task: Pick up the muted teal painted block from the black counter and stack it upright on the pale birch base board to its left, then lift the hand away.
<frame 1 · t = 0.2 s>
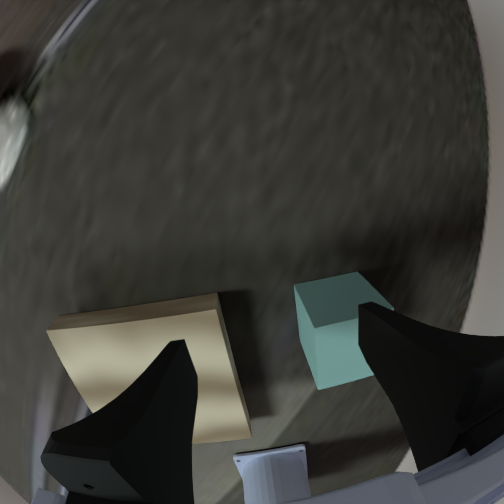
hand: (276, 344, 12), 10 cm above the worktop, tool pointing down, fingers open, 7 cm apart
birch base board: (156, 376, 24), on the worktop
teal block: (328, 307, 23), on the worktop
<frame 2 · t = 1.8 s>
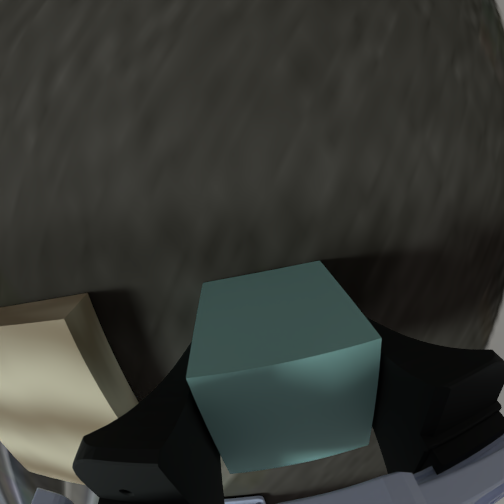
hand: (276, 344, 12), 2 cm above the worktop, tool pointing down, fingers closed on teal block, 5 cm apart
birch base board: (49, 401, 14), on the worktop
teal block: (270, 322, 13), on the worktop, touching gripper
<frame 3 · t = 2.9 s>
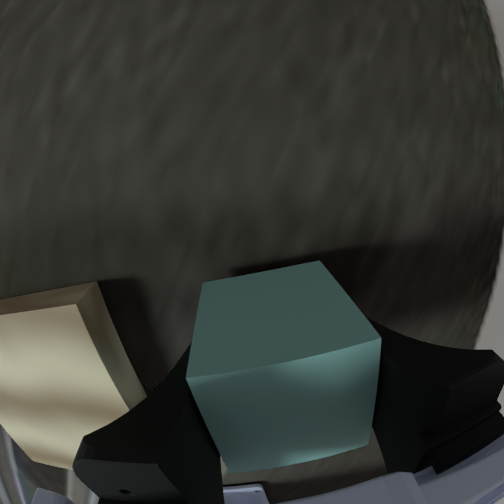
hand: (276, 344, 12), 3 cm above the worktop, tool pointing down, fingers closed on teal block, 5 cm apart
birch base board: (55, 388, 16), on the worktop
teal block: (270, 322, 13), point 1 cm above the worktop, touching gripper
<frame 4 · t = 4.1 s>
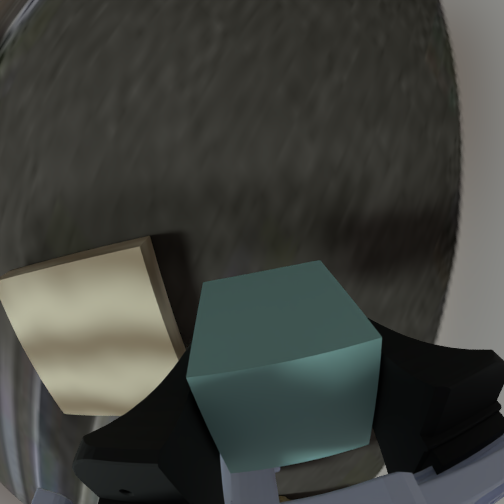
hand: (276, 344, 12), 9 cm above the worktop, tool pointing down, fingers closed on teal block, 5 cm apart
birch base board: (98, 335, 22), on the worktop
rock: (283, 503, 33), on the worktop
teal block: (270, 322, 13), point 8 cm above the worktop, touching gripper
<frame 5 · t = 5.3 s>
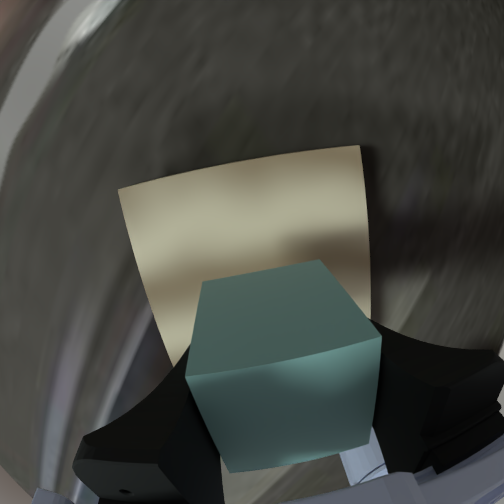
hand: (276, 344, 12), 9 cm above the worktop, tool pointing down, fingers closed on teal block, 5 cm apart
birch base board: (257, 266, 20), on the worktop
teal block: (270, 321, 13), point 7 cm above the worktop, touching gripper
when the fingers open (6 cm above the worktop, at t = 6.3 s): teal block drops 1 cm, resting on birch base board.
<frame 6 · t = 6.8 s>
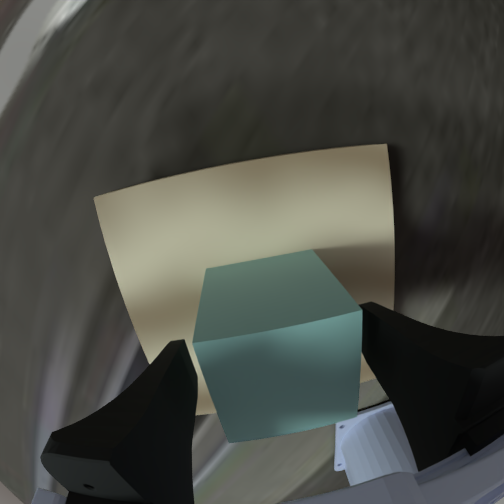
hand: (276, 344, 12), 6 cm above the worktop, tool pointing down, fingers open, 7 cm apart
birch base board: (261, 286, 17), on the worktop
teal block: (267, 306, 15), point 2 cm above the worktop, touching birch base board
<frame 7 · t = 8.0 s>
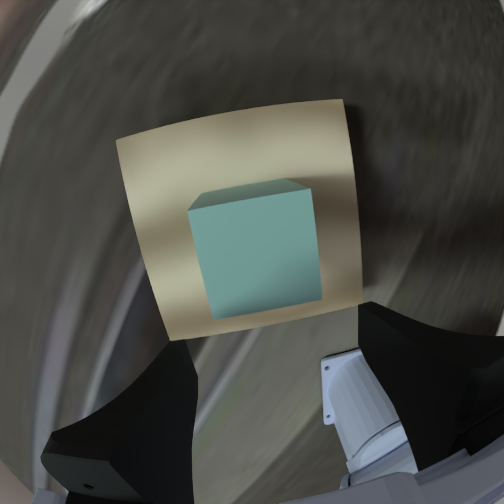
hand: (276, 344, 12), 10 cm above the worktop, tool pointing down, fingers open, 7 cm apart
birch base board: (247, 218, 21), on the worktop
teal block: (250, 226, 18), point 2 cm above the worktop, touching birch base board
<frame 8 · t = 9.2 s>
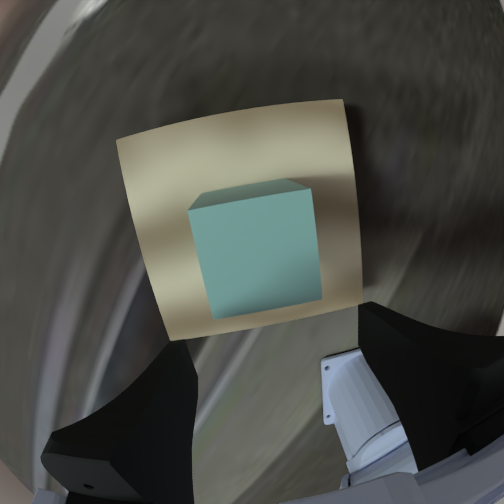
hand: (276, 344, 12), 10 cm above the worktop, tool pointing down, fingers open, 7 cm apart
birch base board: (247, 218, 21), on the worktop
teal block: (250, 225, 18), point 2 cm above the worktop, touching birch base board
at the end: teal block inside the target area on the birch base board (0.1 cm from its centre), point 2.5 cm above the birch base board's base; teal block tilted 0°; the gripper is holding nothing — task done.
